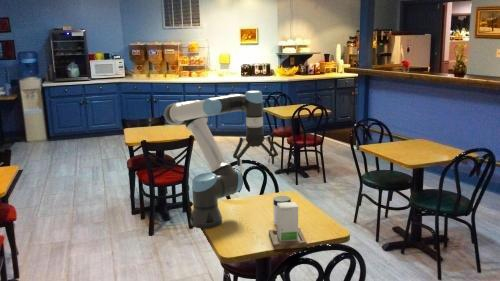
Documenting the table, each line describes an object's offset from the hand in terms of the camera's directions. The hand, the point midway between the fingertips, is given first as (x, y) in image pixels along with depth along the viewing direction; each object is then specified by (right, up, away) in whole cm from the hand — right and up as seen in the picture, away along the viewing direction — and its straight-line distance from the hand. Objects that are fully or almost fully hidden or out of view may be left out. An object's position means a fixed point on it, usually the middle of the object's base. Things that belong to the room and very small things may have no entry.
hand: (255, 171), depth 212 cm
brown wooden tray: (+13, -29, -9) cm, 33 cm away
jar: (+13, -25, +10) cm, 30 cm away
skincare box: (+14, -28, -10) cm, 33 cm away
